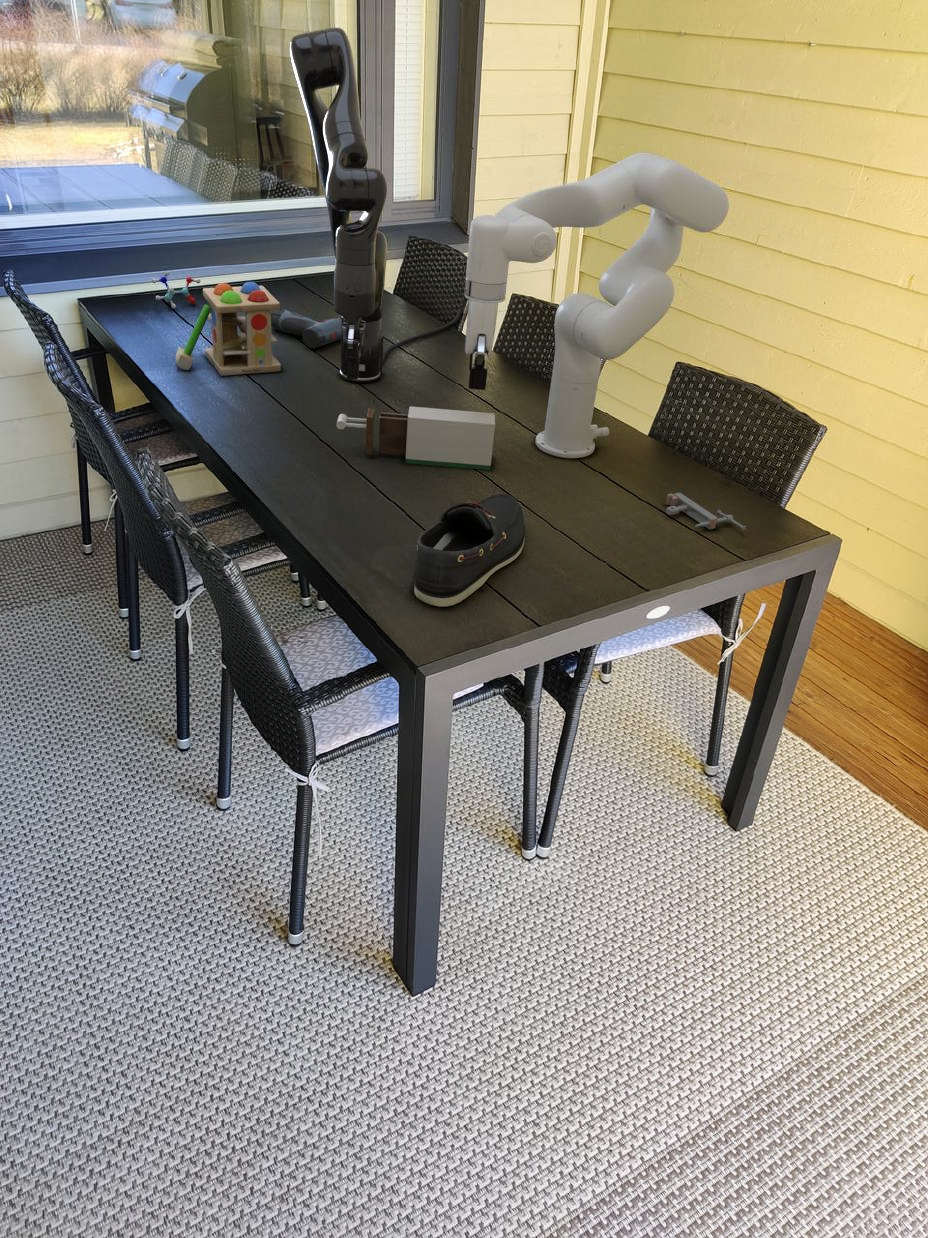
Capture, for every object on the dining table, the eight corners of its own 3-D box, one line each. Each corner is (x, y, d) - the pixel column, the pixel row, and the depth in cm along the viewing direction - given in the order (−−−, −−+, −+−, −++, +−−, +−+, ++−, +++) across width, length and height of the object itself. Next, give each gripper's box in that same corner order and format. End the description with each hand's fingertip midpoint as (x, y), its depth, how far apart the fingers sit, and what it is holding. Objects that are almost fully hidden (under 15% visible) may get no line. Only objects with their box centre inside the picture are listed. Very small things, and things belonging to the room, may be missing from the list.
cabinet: (405, 463, 195) (407, 417, 189) (407, 451, 200) (409, 406, 194) (490, 470, 195) (495, 424, 190) (490, 458, 200) (494, 413, 195)
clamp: (655, 496, 187) (694, 487, 191) (652, 506, 188) (692, 497, 192) (708, 532, 176) (748, 523, 181) (705, 543, 177) (745, 533, 182)
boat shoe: (551, 538, 175) (557, 484, 170) (450, 614, 151) (453, 554, 146) (489, 517, 181) (493, 465, 175) (383, 588, 157) (383, 530, 151)
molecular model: (184, 300, 255) (170, 262, 254) (156, 313, 259) (142, 276, 258) (209, 302, 266) (196, 266, 265) (181, 315, 270) (168, 279, 268)
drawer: (335, 451, 194) (336, 414, 190) (338, 442, 198) (338, 405, 194) (444, 460, 195) (447, 423, 191) (445, 451, 199) (448, 414, 194)
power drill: (305, 316, 264) (364, 334, 256) (257, 332, 251) (318, 351, 243) (305, 296, 261) (365, 314, 253) (257, 311, 248) (318, 330, 240)
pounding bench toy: (183, 379, 220) (176, 299, 210) (169, 357, 231) (162, 280, 221) (282, 371, 230) (280, 294, 220) (264, 350, 240) (262, 276, 230)
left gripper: (338, 274, 184) (337, 364, 193) (329, 294, 173) (328, 388, 183) (378, 277, 184) (375, 367, 194) (371, 298, 173) (369, 392, 183)
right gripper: (465, 274, 185) (458, 362, 195) (464, 301, 171) (456, 394, 181) (505, 277, 186) (495, 365, 195) (507, 305, 171) (497, 398, 181)
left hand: (352, 377), depth 188 cm, fingers closed
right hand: (477, 379), depth 188 cm, fingers open, 9 cm apart
